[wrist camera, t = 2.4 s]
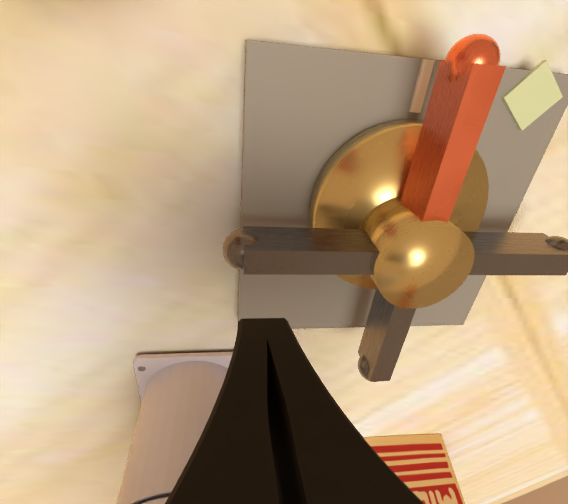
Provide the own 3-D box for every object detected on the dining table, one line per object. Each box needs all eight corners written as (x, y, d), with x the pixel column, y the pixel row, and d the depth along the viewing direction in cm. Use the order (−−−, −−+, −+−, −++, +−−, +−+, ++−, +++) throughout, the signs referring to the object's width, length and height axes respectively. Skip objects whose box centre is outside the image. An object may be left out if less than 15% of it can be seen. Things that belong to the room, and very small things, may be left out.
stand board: (453, 313, 26) (464, 326, 25) (237, 317, 23) (238, 332, 22) (565, 63, 17) (589, 65, 16) (246, 28, 15) (247, 26, 14)
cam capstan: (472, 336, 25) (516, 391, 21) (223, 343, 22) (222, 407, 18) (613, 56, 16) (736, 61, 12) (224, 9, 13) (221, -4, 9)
